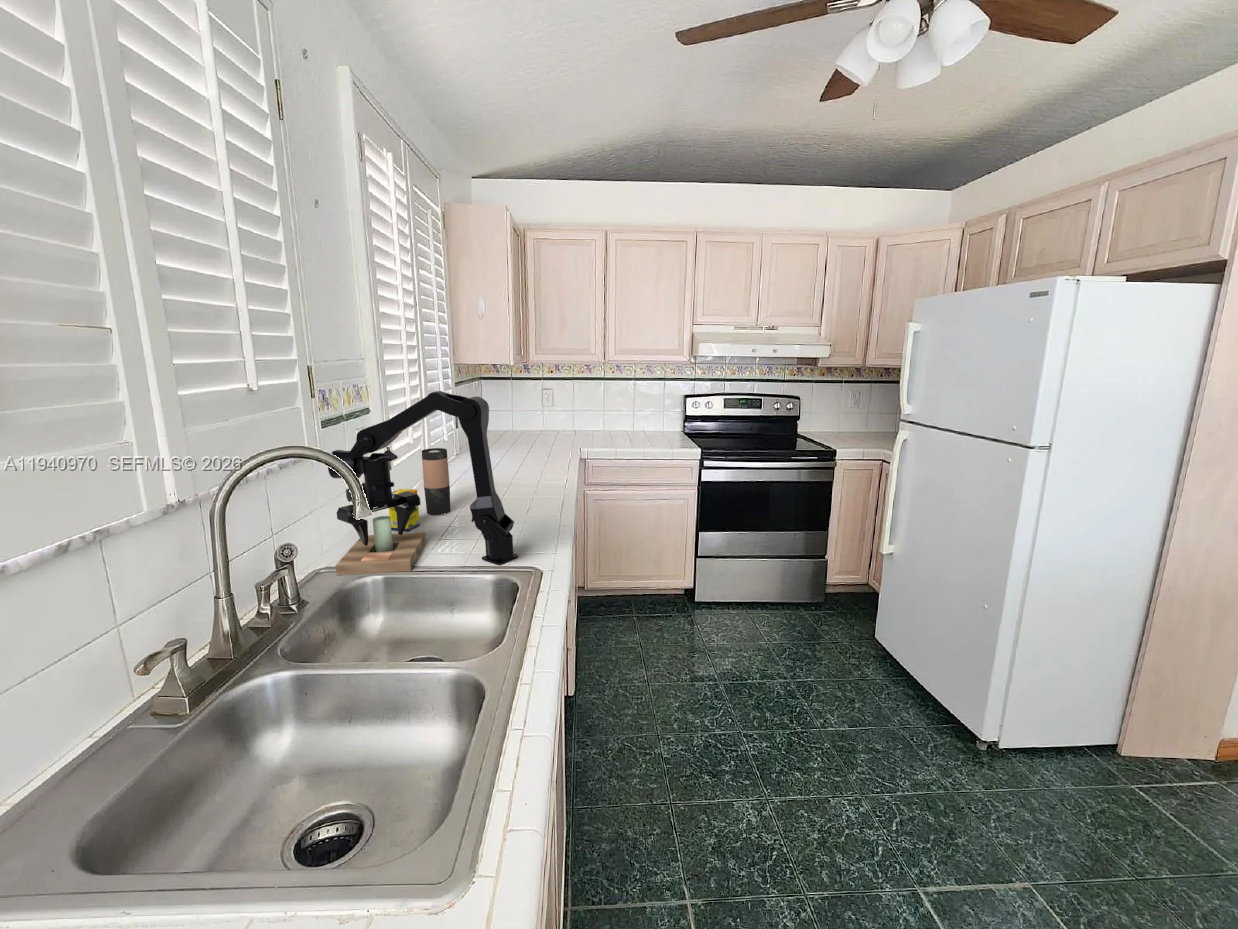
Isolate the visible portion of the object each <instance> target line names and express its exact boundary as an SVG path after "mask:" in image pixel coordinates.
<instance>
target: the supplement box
mask: <svg viewBox="0 0 1238 929" xmlns="http://www.w3.org/2000/svg"><path fill="white" fill-rule="evenodd" d="M403 492H411V493H414V494H417V495H418V489H413V488H411V489H410V488H398V489H396V490H392V498H393V497H394V496H395V494H399V493H403ZM415 507H416V509H415V510H413V512H412V514H411V516H410V518H409V520H408V522H407V525H406V527H405V530H404V532H410V531H411V530H414V529H415V528H416V527H419V526H420V525H421V524H420V523H421V522H420V512H419V510H420V509H419V508H420V507H419V505H418V506H415ZM388 515H389V517H390V520H391V531H398V526H397V513H396V511H395V509H394V507H391V508H388Z"/></svg>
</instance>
